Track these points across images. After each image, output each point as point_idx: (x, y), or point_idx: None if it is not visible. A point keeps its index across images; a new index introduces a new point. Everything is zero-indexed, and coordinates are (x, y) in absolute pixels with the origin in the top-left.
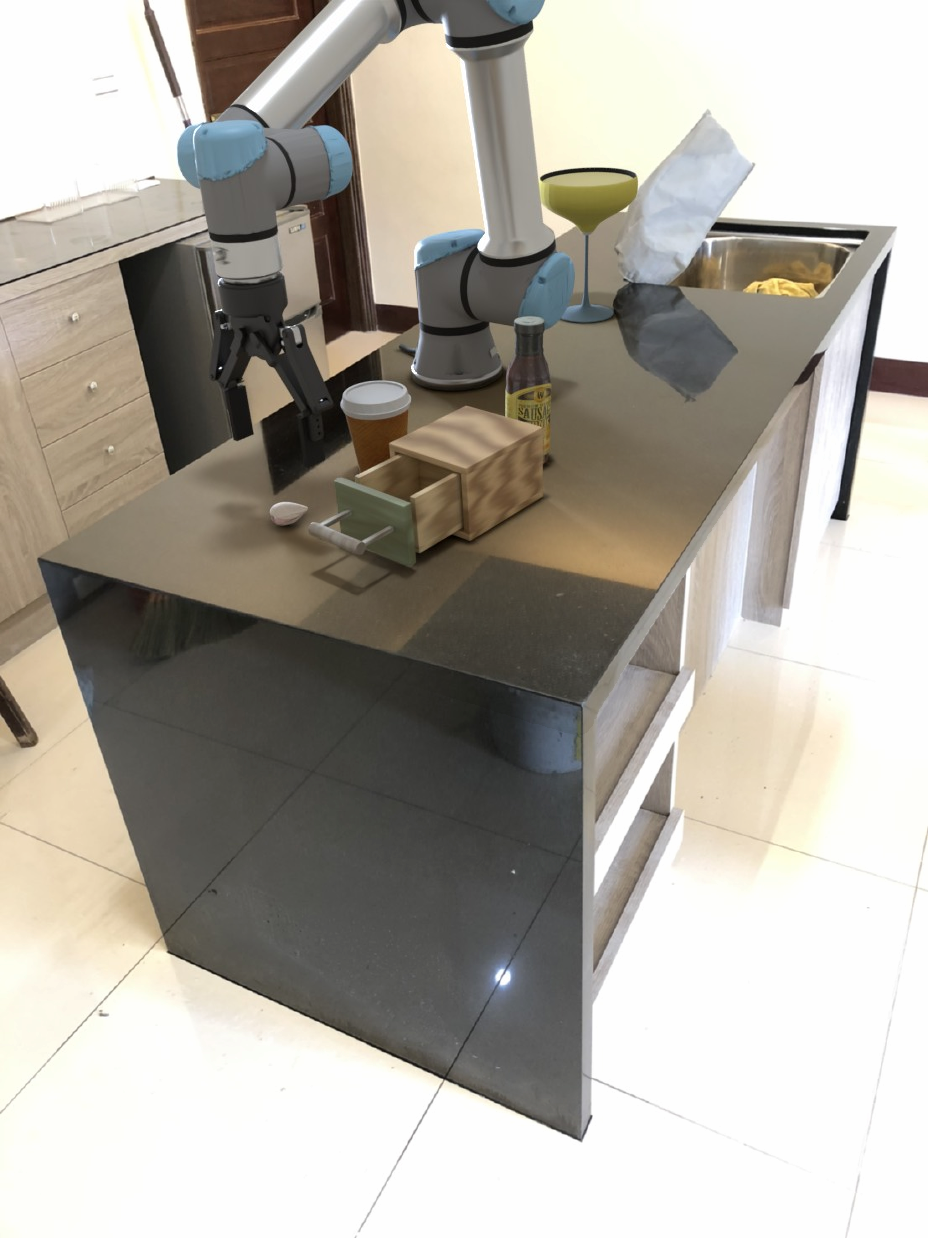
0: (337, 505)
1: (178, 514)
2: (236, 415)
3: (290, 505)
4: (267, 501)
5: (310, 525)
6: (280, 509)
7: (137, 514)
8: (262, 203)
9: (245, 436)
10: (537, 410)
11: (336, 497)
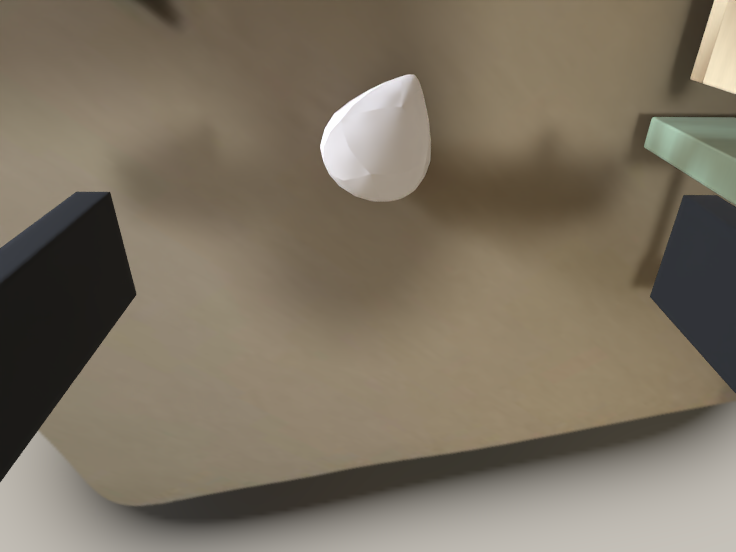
0: (712, 190)
1: None
2: (64, 361)
3: (392, 142)
4: (201, 78)
5: None
6: (389, 185)
7: None
8: None
9: (121, 249)
10: None
11: (733, 203)
